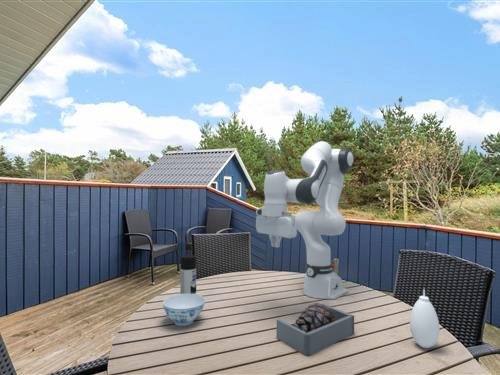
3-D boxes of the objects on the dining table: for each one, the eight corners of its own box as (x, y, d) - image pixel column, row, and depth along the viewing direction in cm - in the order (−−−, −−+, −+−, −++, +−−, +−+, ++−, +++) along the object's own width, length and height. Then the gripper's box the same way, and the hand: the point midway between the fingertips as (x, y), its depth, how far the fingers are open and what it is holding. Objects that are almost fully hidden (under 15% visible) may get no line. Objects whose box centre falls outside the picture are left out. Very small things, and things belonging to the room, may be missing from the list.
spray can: (192, 306, 121) (193, 258, 121) (177, 305, 122) (177, 257, 123) (198, 300, 128) (198, 255, 128) (184, 299, 129) (184, 254, 129)
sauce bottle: (444, 354, 86) (443, 293, 86) (415, 352, 87) (415, 291, 88) (432, 341, 94) (432, 285, 94) (406, 339, 95) (406, 283, 95)
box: (323, 319, 109) (323, 303, 109) (354, 333, 99) (354, 315, 99) (276, 338, 95) (276, 319, 95) (307, 356, 85) (307, 335, 85)
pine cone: (285, 343, 92) (285, 311, 92) (311, 323, 106) (311, 296, 106) (315, 355, 86) (315, 320, 86) (339, 332, 99) (339, 303, 100)
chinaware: (181, 310, 117) (181, 291, 117) (212, 318, 110) (212, 297, 110) (153, 325, 103) (153, 303, 103) (187, 335, 97) (187, 311, 97)
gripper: (300, 212, 108) (300, 250, 107) (265, 209, 124) (265, 242, 124) (288, 213, 104) (288, 252, 104) (253, 210, 120) (253, 244, 120)
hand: (275, 246), depth 114 cm, fingers closed
